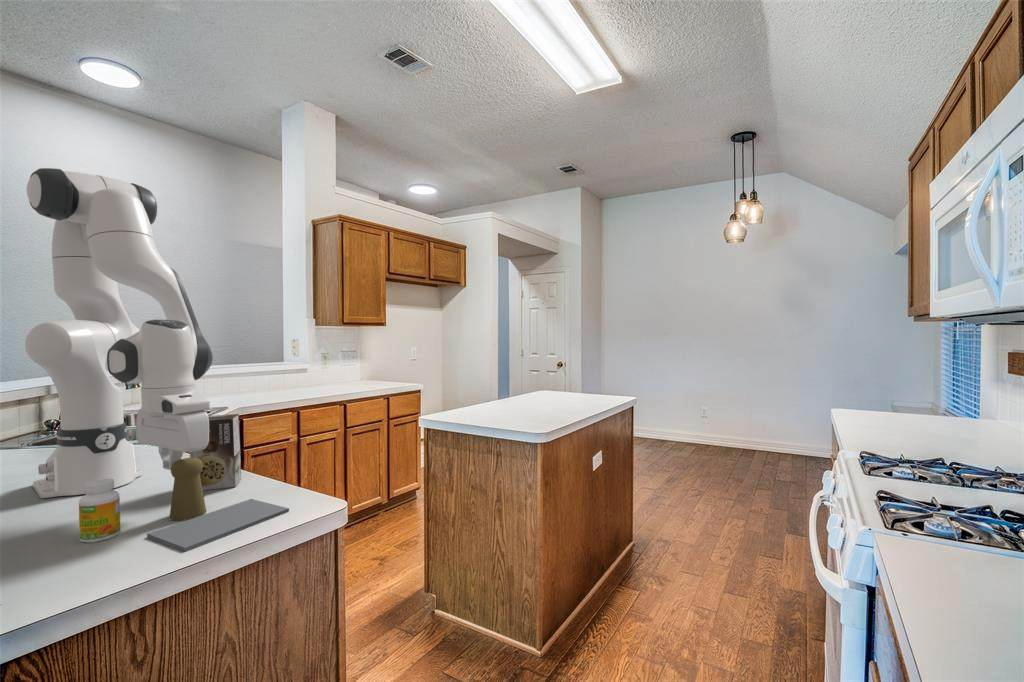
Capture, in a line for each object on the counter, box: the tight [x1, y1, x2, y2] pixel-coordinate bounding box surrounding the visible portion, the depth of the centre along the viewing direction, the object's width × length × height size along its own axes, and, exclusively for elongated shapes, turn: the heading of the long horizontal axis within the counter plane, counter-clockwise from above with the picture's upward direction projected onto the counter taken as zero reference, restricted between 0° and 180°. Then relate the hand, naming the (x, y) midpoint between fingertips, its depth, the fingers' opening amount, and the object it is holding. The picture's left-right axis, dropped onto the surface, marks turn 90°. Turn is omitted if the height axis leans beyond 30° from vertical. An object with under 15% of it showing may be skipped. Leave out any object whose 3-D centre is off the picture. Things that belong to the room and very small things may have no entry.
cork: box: [168, 457, 207, 522], centre depth 92 cm, size 6×6×11 cm
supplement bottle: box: [78, 479, 121, 544], centre depth 82 cm, size 5×5×10 cm
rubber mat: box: [146, 498, 290, 552], centre depth 88 cm, size 12×19×1 cm, turn 152°
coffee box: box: [189, 413, 242, 491], centre depth 110 cm, size 9×6×16 cm
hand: (171, 469), depth 94 cm, fingers closed
